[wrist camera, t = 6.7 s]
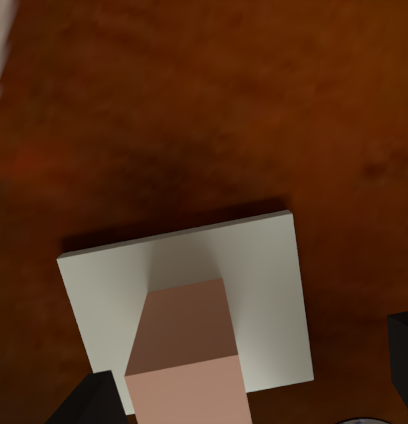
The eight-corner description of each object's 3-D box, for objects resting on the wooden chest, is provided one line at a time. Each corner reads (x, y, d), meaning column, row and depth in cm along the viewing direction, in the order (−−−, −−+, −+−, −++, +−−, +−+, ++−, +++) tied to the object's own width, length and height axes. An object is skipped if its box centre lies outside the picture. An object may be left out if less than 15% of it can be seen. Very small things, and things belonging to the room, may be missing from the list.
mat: (287, 209, 17) (292, 213, 16) (309, 369, 20) (313, 379, 19) (62, 253, 17) (56, 259, 17) (111, 406, 20) (108, 418, 19)
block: (222, 278, 17) (238, 354, 11) (235, 343, 18) (256, 445, 12) (147, 292, 17) (124, 376, 11) (164, 357, 18) (150, 465, 12)
